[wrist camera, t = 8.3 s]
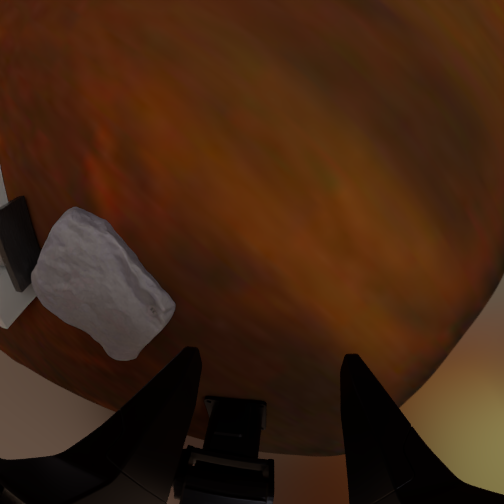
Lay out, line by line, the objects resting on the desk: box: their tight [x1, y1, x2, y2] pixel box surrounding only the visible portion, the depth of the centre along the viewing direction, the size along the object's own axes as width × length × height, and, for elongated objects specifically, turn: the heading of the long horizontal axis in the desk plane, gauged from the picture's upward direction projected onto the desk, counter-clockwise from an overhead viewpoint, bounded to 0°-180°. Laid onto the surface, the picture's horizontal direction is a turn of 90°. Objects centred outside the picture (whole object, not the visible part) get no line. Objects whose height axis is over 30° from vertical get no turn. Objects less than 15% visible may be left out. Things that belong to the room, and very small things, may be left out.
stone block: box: [31, 207, 176, 361], centre depth 20 cm, size 12×5×10 cm
